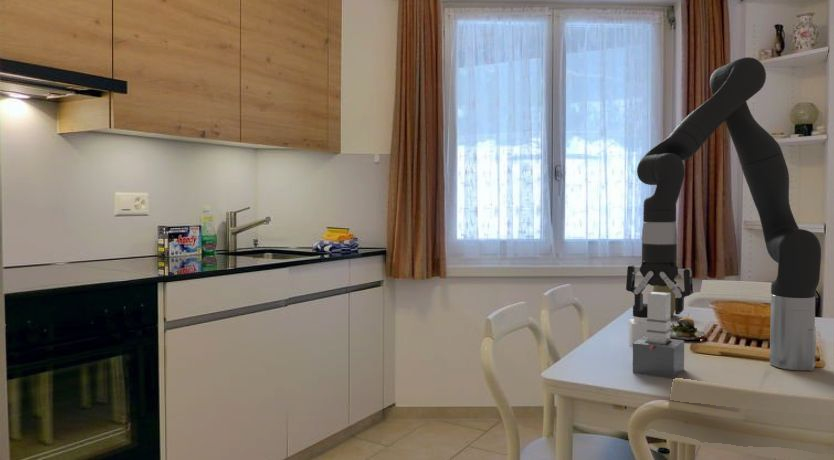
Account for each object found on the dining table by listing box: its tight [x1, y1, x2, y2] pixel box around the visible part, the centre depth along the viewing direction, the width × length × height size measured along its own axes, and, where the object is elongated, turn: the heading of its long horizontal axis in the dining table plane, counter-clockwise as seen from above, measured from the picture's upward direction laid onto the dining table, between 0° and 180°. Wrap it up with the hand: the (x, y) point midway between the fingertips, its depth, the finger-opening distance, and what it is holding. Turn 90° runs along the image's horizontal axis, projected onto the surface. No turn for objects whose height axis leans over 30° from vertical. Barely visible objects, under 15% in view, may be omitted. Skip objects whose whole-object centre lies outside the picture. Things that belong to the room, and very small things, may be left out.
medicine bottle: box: [628, 302, 648, 348], centre depth 176 cm, size 7×7×12 cm
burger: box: [670, 314, 707, 341], centre depth 187 cm, size 12×12×8 cm
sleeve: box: [632, 336, 685, 380], centre depth 148 cm, size 16×16×8 cm
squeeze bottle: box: [652, 284, 677, 317], centre depth 220 cm, size 8×8×18 cm
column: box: [647, 291, 672, 345], centre depth 148 cm, size 4×4×18 cm
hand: (658, 312), depth 148 cm, fingers open, 8 cm apart
